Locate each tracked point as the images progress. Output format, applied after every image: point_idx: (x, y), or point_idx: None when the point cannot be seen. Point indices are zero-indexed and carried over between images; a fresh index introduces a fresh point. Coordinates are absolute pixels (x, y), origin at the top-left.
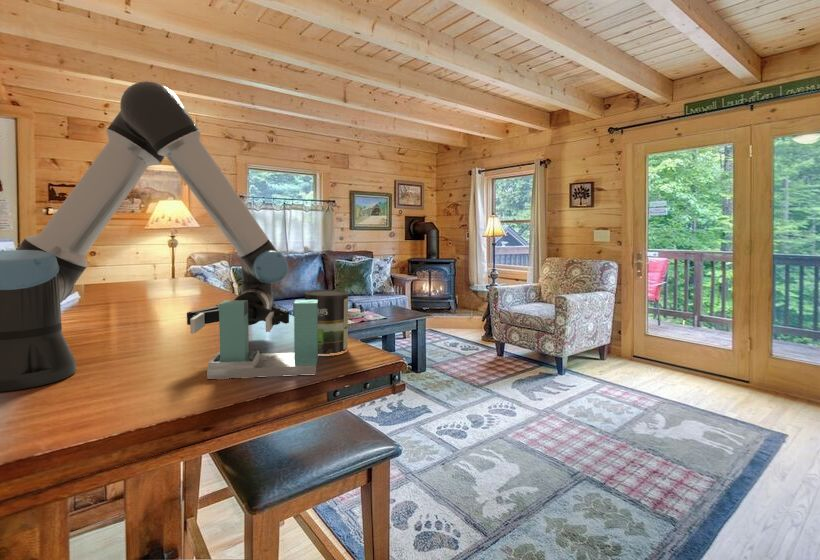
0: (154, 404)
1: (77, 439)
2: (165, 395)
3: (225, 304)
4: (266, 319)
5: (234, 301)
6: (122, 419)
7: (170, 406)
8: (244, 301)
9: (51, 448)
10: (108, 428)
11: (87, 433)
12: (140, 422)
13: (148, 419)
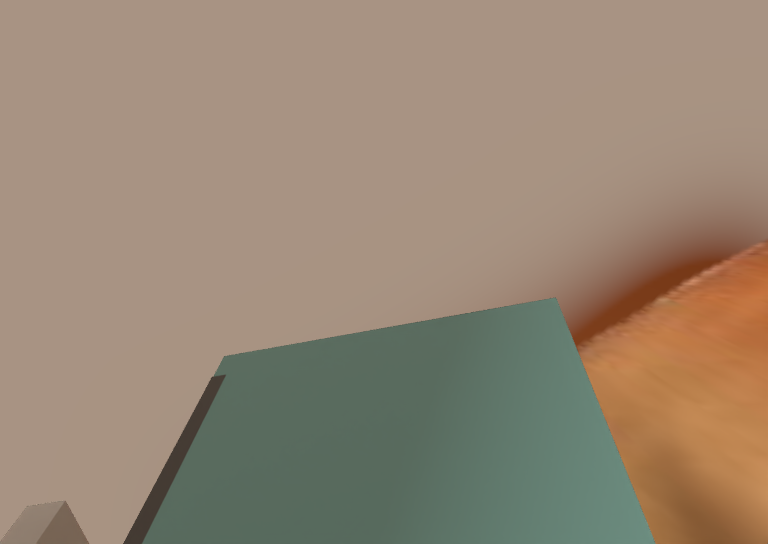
0: (716, 424)
1: (736, 277)
2: (753, 498)
3: (463, 319)
4: (61, 515)
5: (366, 486)
6: (723, 343)
7: (633, 417)
8: (174, 510)
9: (754, 255)
10: (711, 311)
11: (743, 293)
12: (646, 338)
13: (636, 351)
